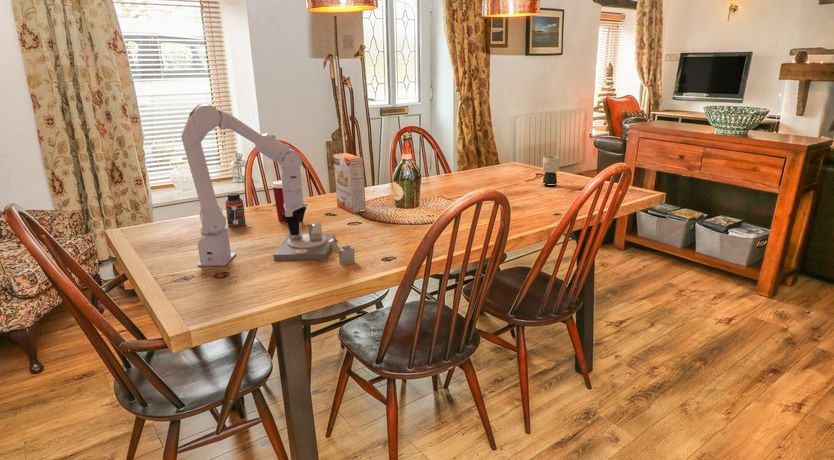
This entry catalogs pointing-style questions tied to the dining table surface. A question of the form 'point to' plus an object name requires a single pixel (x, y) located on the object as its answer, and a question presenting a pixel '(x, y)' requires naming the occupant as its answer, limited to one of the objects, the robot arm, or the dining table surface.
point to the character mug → (550, 169)
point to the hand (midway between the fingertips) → (296, 232)
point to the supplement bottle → (235, 210)
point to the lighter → (343, 252)
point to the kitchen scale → (304, 248)
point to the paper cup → (279, 199)
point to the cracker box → (349, 182)
